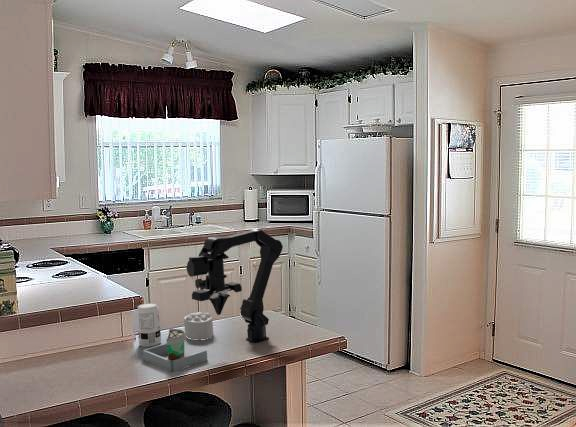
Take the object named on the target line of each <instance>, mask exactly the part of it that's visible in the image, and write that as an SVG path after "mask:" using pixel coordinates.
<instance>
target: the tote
mask: <svg viewBox="0 0 576 427" xmlns="http://www.w3.org/2000/svg"><path fill="white" fill-rule="evenodd" d="M141 353H142V360H143V361H145V362H147V363H149V364H152V365H153V366H156V367H158V368H161V369H163V370H167V371H168V370H169V371H168V372H170V373H174V371H175V372H177V371H179V369H180V370H183V369H185V368H184V367H186V368H188V367H187V366H189V367H191V366H190V365H192V366H194V365H193V364H195V365H198V364H200V362H201V363H203V362H204V363H205V362H206V361H208V351H207V350H206V349H204V350H201V351H198V352H196V353H192V354H188V355H186V356H185V355H184V357H182V358H179V359H176V360H173V361H172V360H169V359H168V358H166V357H165V356H164V355H166V354H168V351H167V342H165V343H162V344H158V345H156V346H152V347H147V348H146V349H145V348H144V349H142V351H141ZM165 353H166V354H165ZM162 355H163V356H162ZM197 363H198V364H197ZM182 368H183V369H182Z"/></svg>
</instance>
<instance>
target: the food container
mask: <svg viewBox="0 0 576 427" xmlns="http://www.w3.org/2000/svg"><path fill="white" fill-rule="evenodd" d="M186 339H187V337H186V335H185V330H183V329H180V328H169V329H168V335H167V338H166V343H167V351H168V353H167V359H169V360H172V361H173V360H176V359H179V358H182V357H185V341H186Z"/></svg>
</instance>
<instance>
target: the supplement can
mask: <svg viewBox="0 0 576 427" xmlns="http://www.w3.org/2000/svg"><path fill="white" fill-rule="evenodd" d="M159 309H160V308H159V306H158V304H157V303H153V302H151V303H150V302H149V303H142V304H139V305H138V306H137V309H136V319H137V321H136V323H137V333H138V334H137V336H138V344H139V346H141V347H143V348H152V347H155V346H158V345H160V344H161V342H162V335H161V320H160V310H159Z"/></svg>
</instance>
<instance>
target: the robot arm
mask: <svg viewBox="0 0 576 427" xmlns="http://www.w3.org/2000/svg"><path fill="white" fill-rule="evenodd" d="M252 242H255V243H256V245H257V246H259V247H260V249H259V256H260V262H259V266H258V269H257V272H256V276H255V278H254V282H253V286H252V289H251V292H250V295H249V297H248V298H247V299H245V298H243V299H242V302H241V307H240V308H239V310H240V316H241V318H243V319H244V322H245V323H246V324H247V332H246V333H247V337H246V338H245V340H246V341H249V342H253V343H260V342H262V341H263V342H264V341H266V340H269V339H270V336H269V337H268V336H267V330H266V328H267V327H266V326H267V325H268V324H269V321H270V318H269V317H268V316H266V315H265V314H264V310H265V308H264V301H263V300H264V295H265V292H266V289H267V286H268V283H269V280H270V275H271V272H272V269H273V266H274V263H275V262H276V261H277V260H278V259H279V258H280V255H281V254H282V252H283V248H284V246H283V243H282V241H280V239H276V238H274V237H272V236H271V235H269V234H267V233H266V232H265V231H264V230H262V229H257V228H253V229H251V230H247V231H244V232H239V233H236V234H231V235H227V236H211V237H210V236H209V237H207V238H206V239H205V241H204V243H203V247H202V248H201V249H200V252H199V254H198V256H189V257H188V262H187V263H186V271H187V272H186V273H187V274H188V276H189V277H190V278H193V277H197V276H198V277H199V276H203V275H205V279H202V278H197V279H195V280H194V283H195V284H194V286H195V288H196V289H198V290H193V291H192V293H191V300H194V301H198V302H204V301H205V302H206V301H208V300H209V301H210V303H211V304H212V307H213V308H214V311H215V314H216V315H217V316H220V315H221V314H222V311H223V310H224V306H225V304H226V302H227V301H228V298H229V297H230V296H231V295H230V294H228V292H230V291H233V292H234V293H240V292H242V291H243V289H242V288H243V287H242V285H241V283H239V282H238V283H237V282H234V281H231V282H226V281H225V278H227V276H228V275H227V274H225V267H224V266H225V265H224V264H225V263H224V260H227V259H229V258H230V257H229V256H228V255H227V254H226V252H228V251H229V250H230V249H231V248H234V247H238V246H242V245H245V244H249V243H252Z"/></svg>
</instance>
